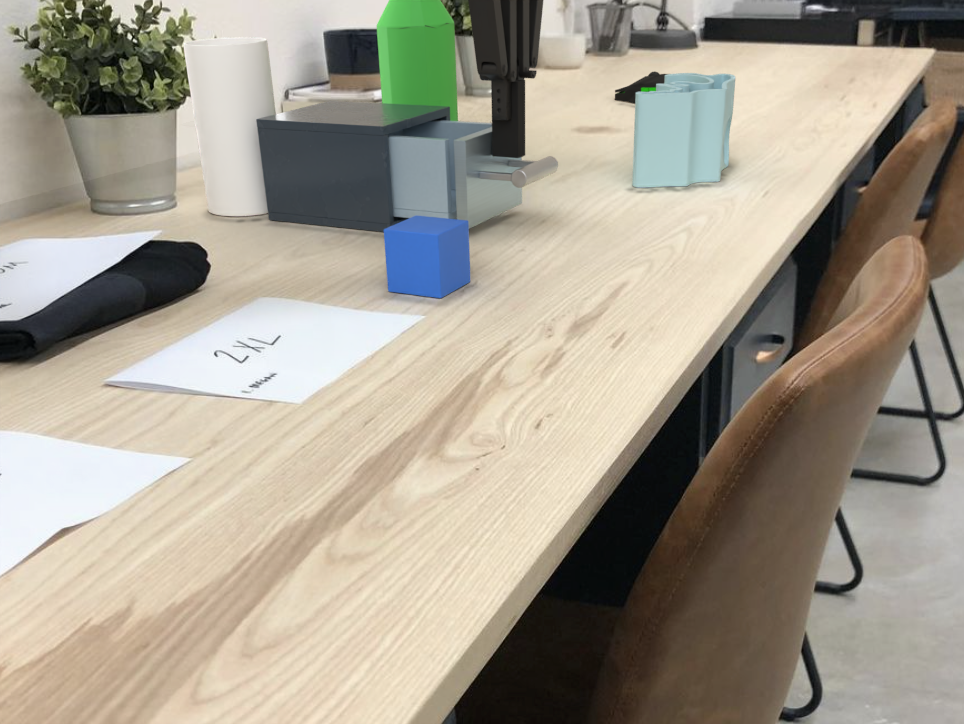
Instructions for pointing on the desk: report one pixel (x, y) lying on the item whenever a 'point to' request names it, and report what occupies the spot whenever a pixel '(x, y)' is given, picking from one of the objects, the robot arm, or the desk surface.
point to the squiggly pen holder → (683, 130)
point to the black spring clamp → (639, 87)
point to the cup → (230, 119)
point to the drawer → (456, 172)
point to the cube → (427, 256)
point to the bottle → (417, 54)
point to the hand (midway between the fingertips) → (508, 155)
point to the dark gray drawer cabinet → (335, 162)
